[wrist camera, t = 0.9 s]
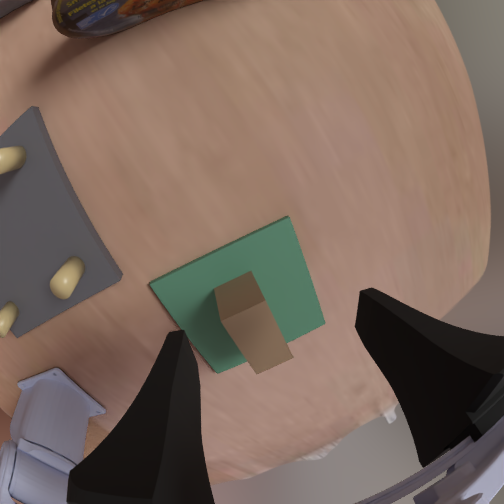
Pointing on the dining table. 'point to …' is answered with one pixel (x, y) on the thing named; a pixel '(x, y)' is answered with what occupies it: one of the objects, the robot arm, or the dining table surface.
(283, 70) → the dining table surface
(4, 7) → the stone block
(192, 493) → the robot arm
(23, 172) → the chassis
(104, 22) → the tin
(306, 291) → the board
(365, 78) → the dining table surface
